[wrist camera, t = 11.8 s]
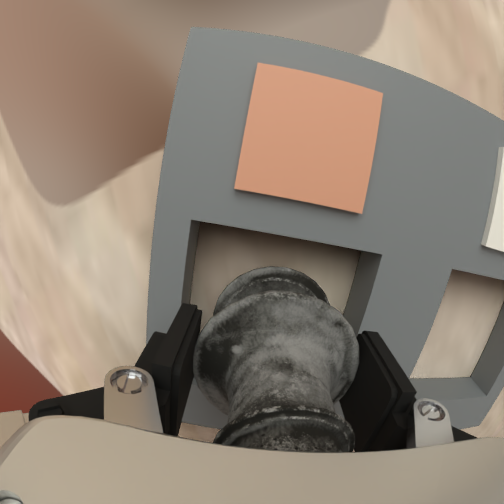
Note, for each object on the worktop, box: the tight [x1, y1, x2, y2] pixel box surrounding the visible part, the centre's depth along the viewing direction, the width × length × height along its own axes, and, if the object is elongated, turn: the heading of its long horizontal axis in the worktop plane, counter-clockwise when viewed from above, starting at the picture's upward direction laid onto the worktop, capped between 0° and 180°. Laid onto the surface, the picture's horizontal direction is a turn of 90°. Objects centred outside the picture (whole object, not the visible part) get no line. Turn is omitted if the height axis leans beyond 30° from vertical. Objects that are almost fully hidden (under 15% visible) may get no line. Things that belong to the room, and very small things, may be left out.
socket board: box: [146, 27, 504, 429], centre depth 14 cm, size 19×23×3 cm
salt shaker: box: [193, 266, 359, 452], centre depth 8 cm, size 6×6×12 cm
